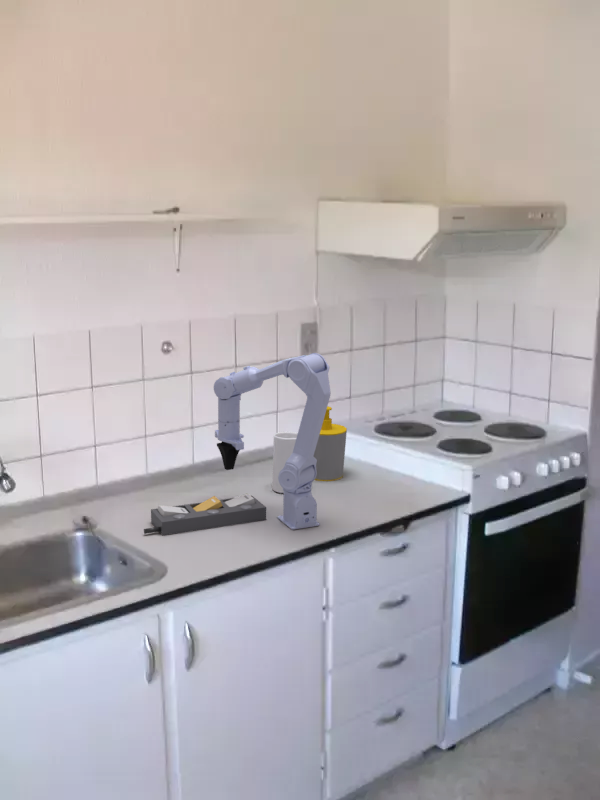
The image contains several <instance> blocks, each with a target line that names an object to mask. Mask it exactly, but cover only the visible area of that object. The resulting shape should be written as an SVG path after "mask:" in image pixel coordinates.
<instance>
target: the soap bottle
mask: <svg viewBox="0 0 600 800" xmlns="http://www.w3.org/2000/svg"><path fill="white" fill-rule="evenodd" d="M332 410H333V408H332V407H331V406H327V409H326V413H325V416H324V420H323V424H322V427H321V431H320V434H319V438H318V441H317V445H316V449H315V452H314V457H315V458H316V460H317V463H316V471H317V475H316V478H315V479H314V481H317V482H333V481H338V480H341V479H342V478H344V465H345V457H346V456H345V453H346V445H347V444H346V443H347V433H348V432H347V431H348V428H347V427H346V426H344V425H341V424H336V423H333V420H332V419H333V418H331V417H330V411H332Z"/></svg>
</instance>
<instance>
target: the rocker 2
mask: <svg viewBox="0 0 600 800" xmlns="http://www.w3.org/2000/svg"><path fill="white" fill-rule="evenodd" d="M253 497H254V496H253ZM253 497H251V495H250V494H249V493H248V492H247V493H245V494H241V495H239V496H238V495H237V496H236V497H232V498H233V499H231V500H228V501H226V502H224V503H225V504H227V505H228V506H229V507H233V506H240V505H247V504H255V501H254V498H255V497H254V498H253Z"/></svg>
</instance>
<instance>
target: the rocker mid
mask: <svg viewBox="0 0 600 800" xmlns="http://www.w3.org/2000/svg"><path fill="white" fill-rule="evenodd" d="M220 500H221V499H218V497H216V495H213V496H211V497H210V498H208V499H207V500H204V501H202V502H203V503H201V502H200V503H201V504H199V505H197V506H196V507H194V508H193V509H194V510H195V511H196V512H198V511H205V510H211V509H218V508H220V507H222V506H223V505H222V503H221V501H220Z"/></svg>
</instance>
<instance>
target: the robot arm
mask: <svg viewBox="0 0 600 800" xmlns="http://www.w3.org/2000/svg"><path fill="white" fill-rule="evenodd" d="M242 369H243V370H239V371H237V372H235V371H232V372H230V373H229V375H226V376H221V377H219V378H218V379H216V380H215V381H214V384H213V392H214V394H215V396H216V397H217V406H218V407H217V409H218V410H217V411H218V412H217V419H218V421H217V423H218V424H217V425H218V426H217V427H218V428H217V429H215V430H214V437H215V438H216V439H217V440H218V441H220V442H217V443H216V447H217V449H218V451H219V453H220V455H221V460H222V464H223V466H224V467H223V468H224V470H225V471H229V470H230V471H231V470H234V468H235V464H236V461H237V458H238V455H239V452H240V451H241V450H242V451H243V450H245V442H244V441H243V440H242V439H243V438H244V437H245V435H244V434H243V433H240V432H241V431H240V429H241V427H240V426H241V425H240V424H241V421H240V419H241V417H240V416H241V413H240V410H241V408H240V406H241V405H240V404H241V397H242V394H245V393H247V392H251V391H253V390H256V389H259V388H261V387H262V385H263V384H264V381H266V380H270V379H273V378H275V377H280V376H282V375H283V376H284V377H285V378H286V379H288V378H289V379H290V380H291V381H292V382H293V383H294V384H295V385H296V386H297V387H298V388H299V389H300V390H301V391H302V392H303V393H304V394H305V396H306V397H307V398H306V401H305V406H304V409H303V412H302V417H301V420H300V424H299V428H298V431H297V433H298V434H297V438H296V442H295V446H294V449H293V453H292V454H291V456H290V457H289V458H288V459H287V461H286V463H285V466H284V468H283V469H282V470H281V471H280V473H279V476H278V480H279V483H280V485H281V487H282V488H283V491H284V493H283V501H282V502H283V510H282V512H283V514H282V515H281V514H280V515H278V516H277V517H276V518H277V519H278V520H279V521H281V522H282V523H283V524H284V525H285V526H286V527H288V528H290V530H291V531H294V530H298V529H305V528H311V527H317V526H320V523H319V522H318V521H317V514H318V512H317V508H318V507H317V506H318V503H317V500H316V499H315V497H314V496H313V493H312V487H313V481H315V480H314V479H315V478H316V475H317V471H316V463H317V460H316V458H315V457H314V452H315V449H316V445H317V441H318V438H319V434H320V431H321V427H322V424H323V420H324V416H325V413H326V409H327V406H328V405H329V402H330V399H331V386H330V380H329V371H330V365H329V364H328V362H327V361H326V358H325V357H324V356H323V355H322V354H320V353H318V352H312V353H310V354H308V355H306V354H304V355H299V356H294V357H290V358H286V359H285V358H284V359H282V360H279V361H277V362H275V363H272V364H270V365H266V366H265V367H262V368H260V369H259V368H258V367H256V366H251V365H247V366H244V367H243V368H242Z"/></svg>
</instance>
